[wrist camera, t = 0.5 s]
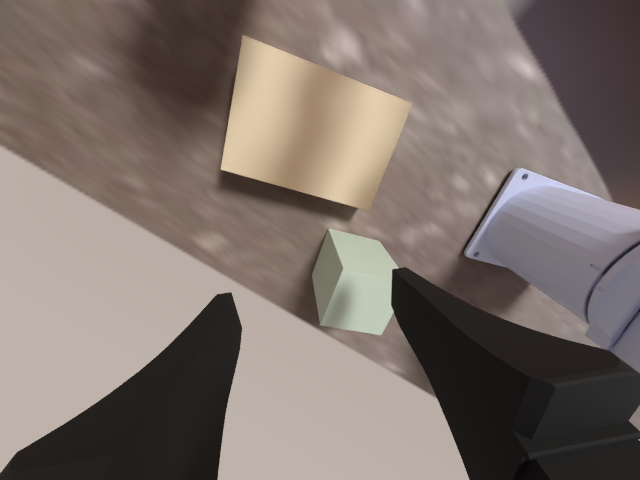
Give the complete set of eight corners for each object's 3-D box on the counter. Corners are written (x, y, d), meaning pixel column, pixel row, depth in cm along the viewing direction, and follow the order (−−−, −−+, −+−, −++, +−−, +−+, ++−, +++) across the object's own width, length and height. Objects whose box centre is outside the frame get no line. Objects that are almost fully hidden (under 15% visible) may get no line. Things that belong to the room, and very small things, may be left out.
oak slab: (399, 104, 18) (412, 103, 16) (361, 202, 20) (368, 210, 18) (247, 43, 15) (242, 35, 13) (227, 163, 18) (220, 169, 16)
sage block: (379, 240, 22) (409, 282, 17) (359, 284, 24) (381, 335, 18) (328, 228, 21) (343, 268, 16) (311, 274, 23) (320, 325, 17)
